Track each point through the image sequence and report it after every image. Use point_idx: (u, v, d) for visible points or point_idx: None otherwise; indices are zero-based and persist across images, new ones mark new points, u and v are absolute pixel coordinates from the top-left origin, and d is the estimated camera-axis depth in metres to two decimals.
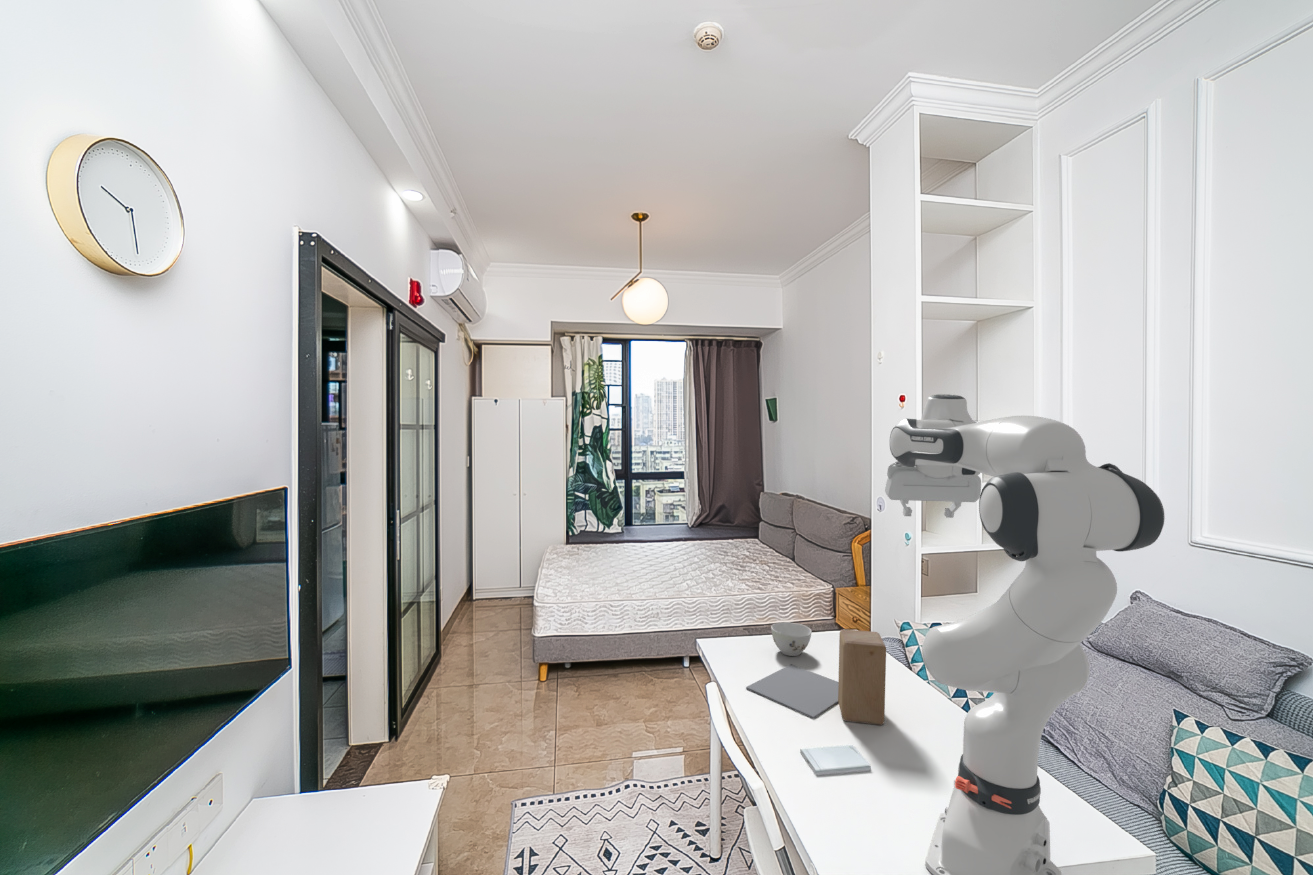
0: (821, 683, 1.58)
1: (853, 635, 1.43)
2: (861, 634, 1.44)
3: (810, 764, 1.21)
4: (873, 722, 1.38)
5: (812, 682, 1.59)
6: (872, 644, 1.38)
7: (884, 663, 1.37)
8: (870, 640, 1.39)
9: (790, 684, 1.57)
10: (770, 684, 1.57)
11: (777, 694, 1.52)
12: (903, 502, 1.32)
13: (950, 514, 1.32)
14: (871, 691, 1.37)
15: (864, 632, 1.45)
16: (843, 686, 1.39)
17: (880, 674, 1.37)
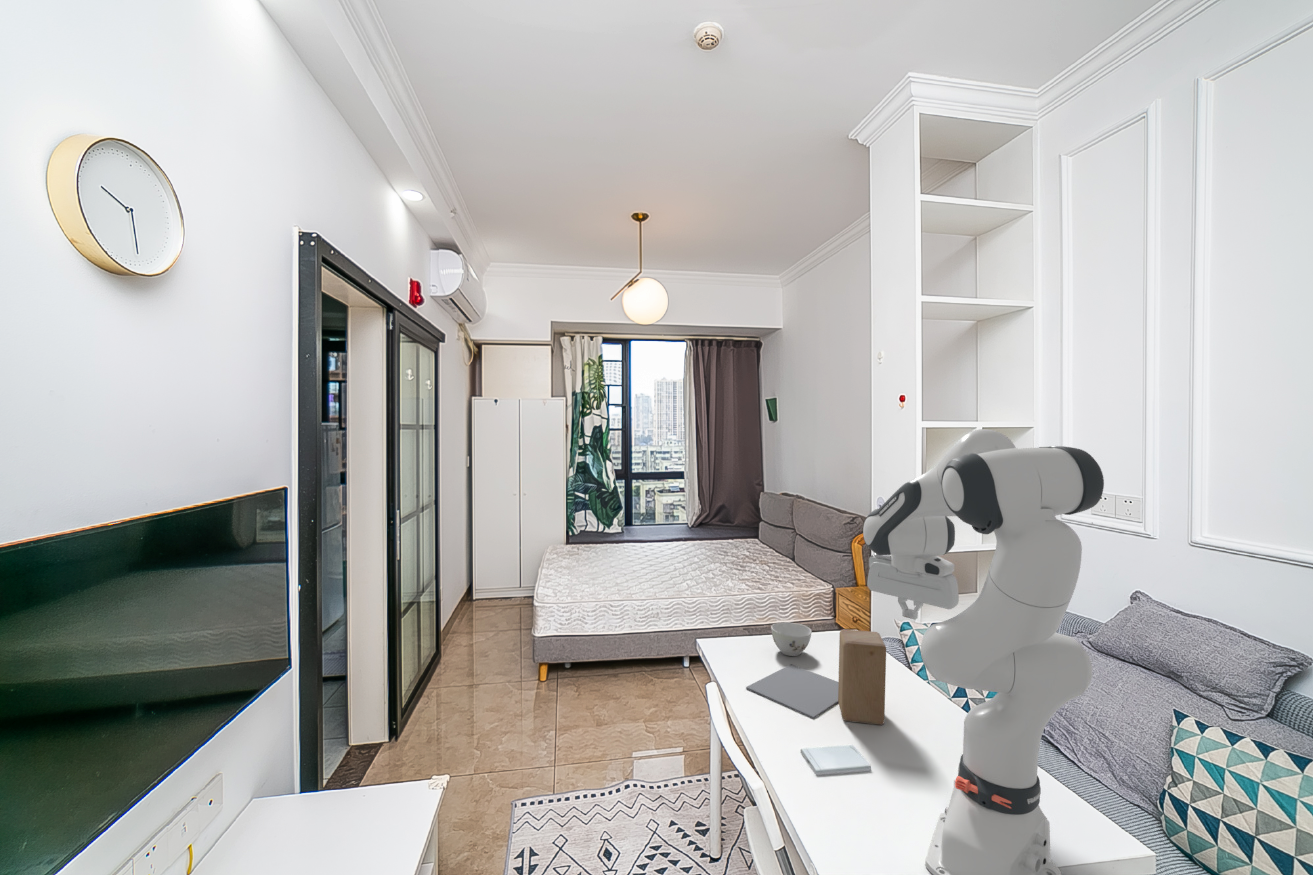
0: (821, 683, 1.58)
1: (853, 635, 1.43)
2: (861, 634, 1.44)
3: (810, 764, 1.21)
4: (873, 722, 1.38)
5: (812, 682, 1.59)
6: (873, 644, 1.38)
7: (884, 663, 1.37)
8: (870, 640, 1.39)
9: (790, 684, 1.57)
10: (770, 684, 1.57)
11: (777, 694, 1.52)
12: (899, 600, 1.34)
13: (911, 614, 1.32)
14: (871, 692, 1.37)
15: (864, 632, 1.45)
16: (843, 686, 1.39)
17: (880, 674, 1.37)
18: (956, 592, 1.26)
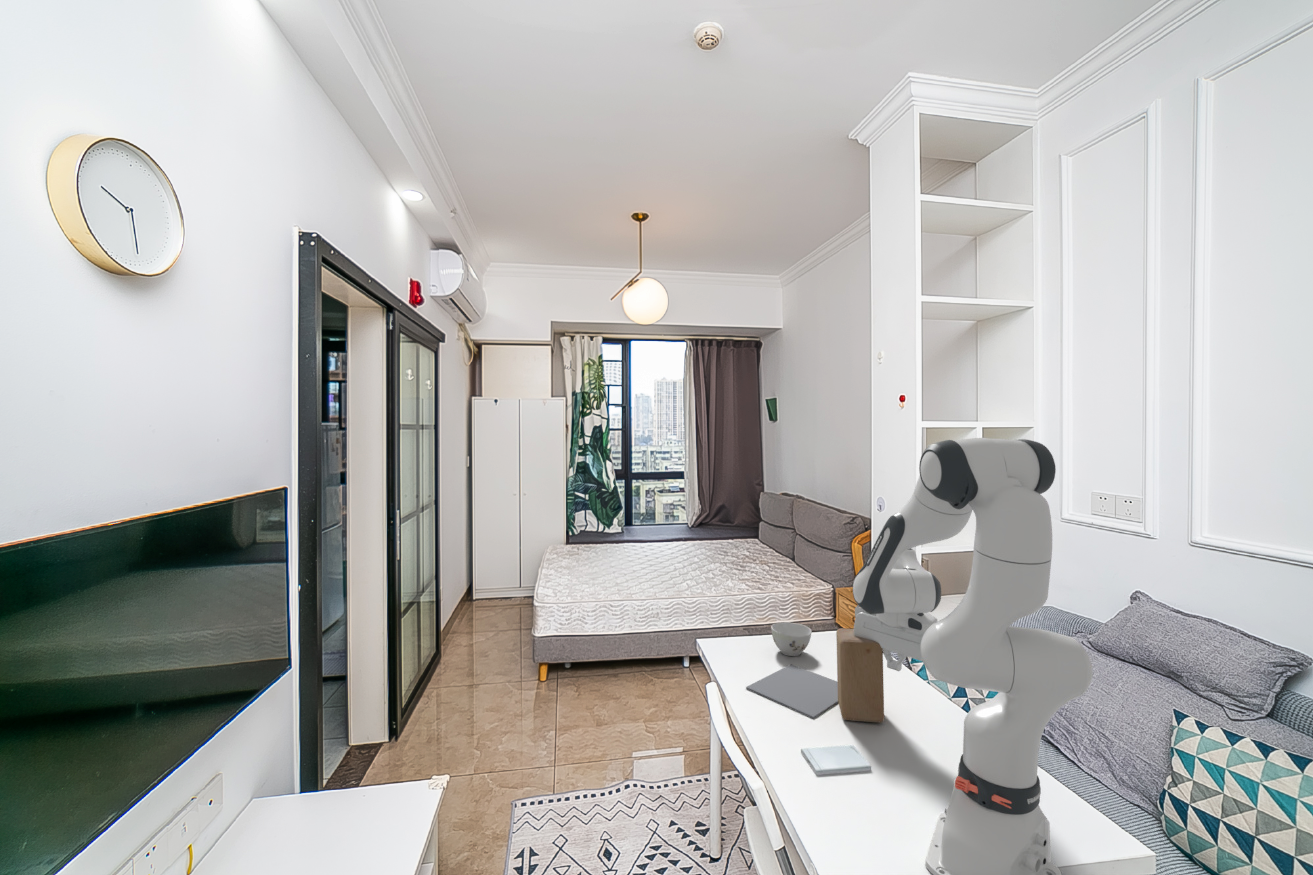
0: (821, 683, 1.58)
1: (849, 633, 1.43)
2: None
3: (810, 764, 1.21)
4: (873, 720, 1.38)
5: (812, 682, 1.59)
6: (869, 642, 1.38)
7: (881, 660, 1.37)
8: None
9: (790, 684, 1.57)
10: (770, 684, 1.57)
11: (777, 694, 1.52)
12: (883, 651, 1.37)
13: (895, 666, 1.36)
14: (869, 689, 1.38)
15: None
16: (841, 685, 1.40)
17: (877, 671, 1.37)
18: None
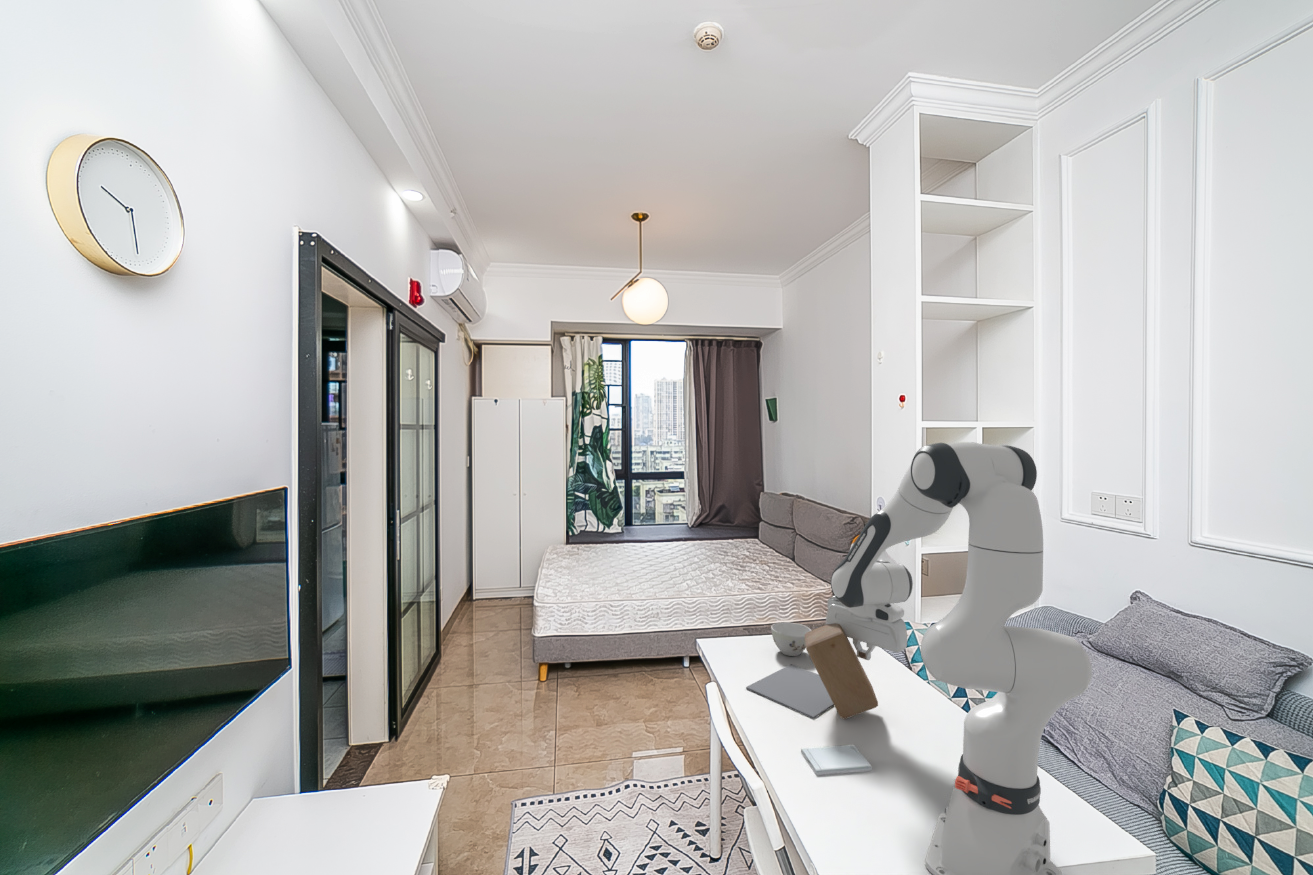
0: (821, 683, 1.58)
1: (814, 635, 1.45)
2: (821, 630, 1.46)
3: (810, 764, 1.21)
4: (868, 708, 1.38)
5: (812, 682, 1.59)
6: (830, 637, 1.40)
7: (849, 649, 1.39)
8: (828, 634, 1.41)
9: (790, 684, 1.57)
10: (770, 684, 1.57)
11: (777, 694, 1.52)
12: (853, 641, 1.43)
13: (864, 655, 1.41)
14: (851, 681, 1.38)
15: (824, 627, 1.47)
16: (826, 688, 1.40)
17: (850, 661, 1.38)
18: (904, 636, 1.35)
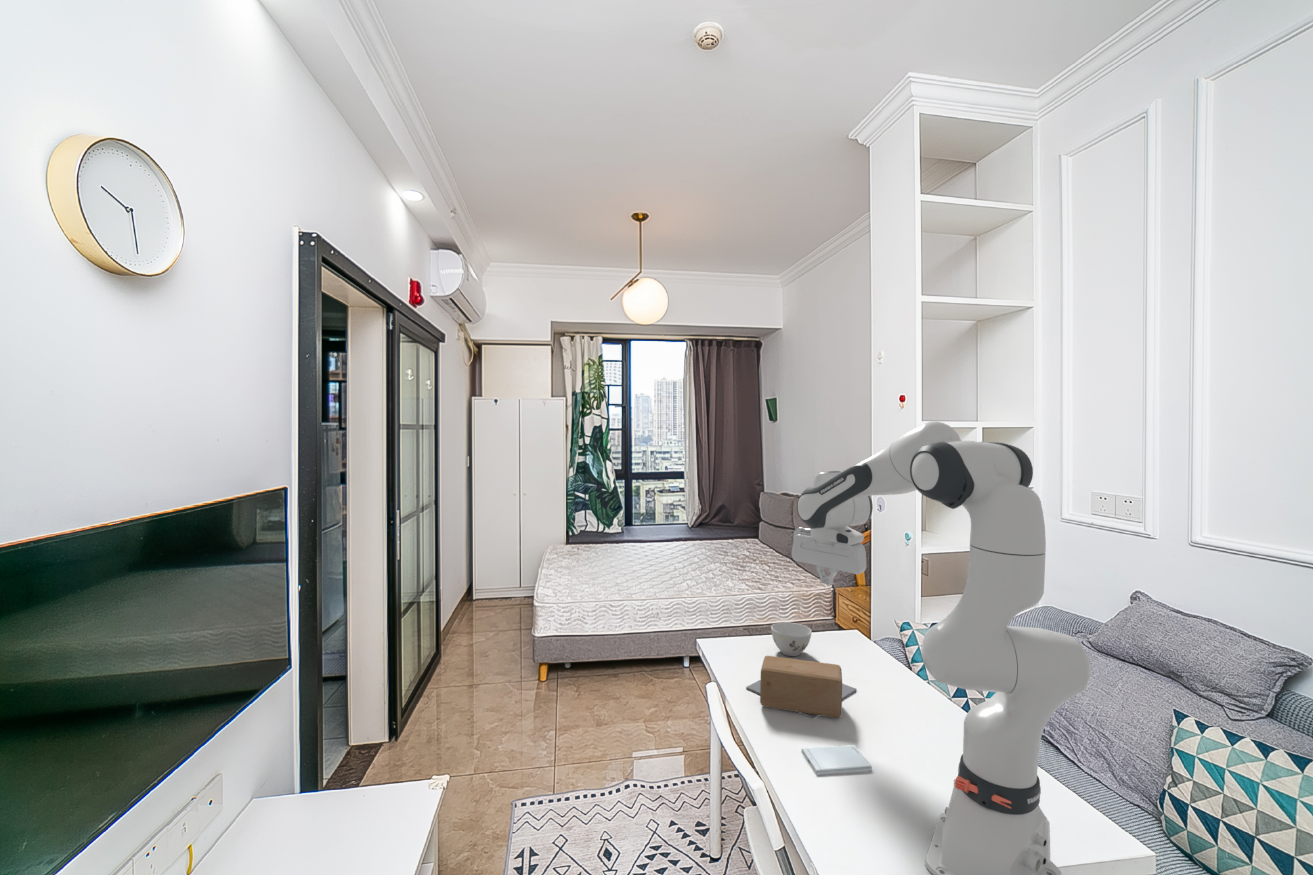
0: None
1: None
2: None
3: (811, 764, 1.21)
4: (839, 690, 1.39)
5: None
6: (761, 680, 1.45)
7: (778, 672, 1.43)
8: None
9: None
10: None
11: None
12: (817, 568, 1.50)
13: (827, 580, 1.48)
14: (807, 688, 1.41)
15: None
16: (805, 712, 1.42)
17: (788, 678, 1.42)
18: (863, 559, 1.42)
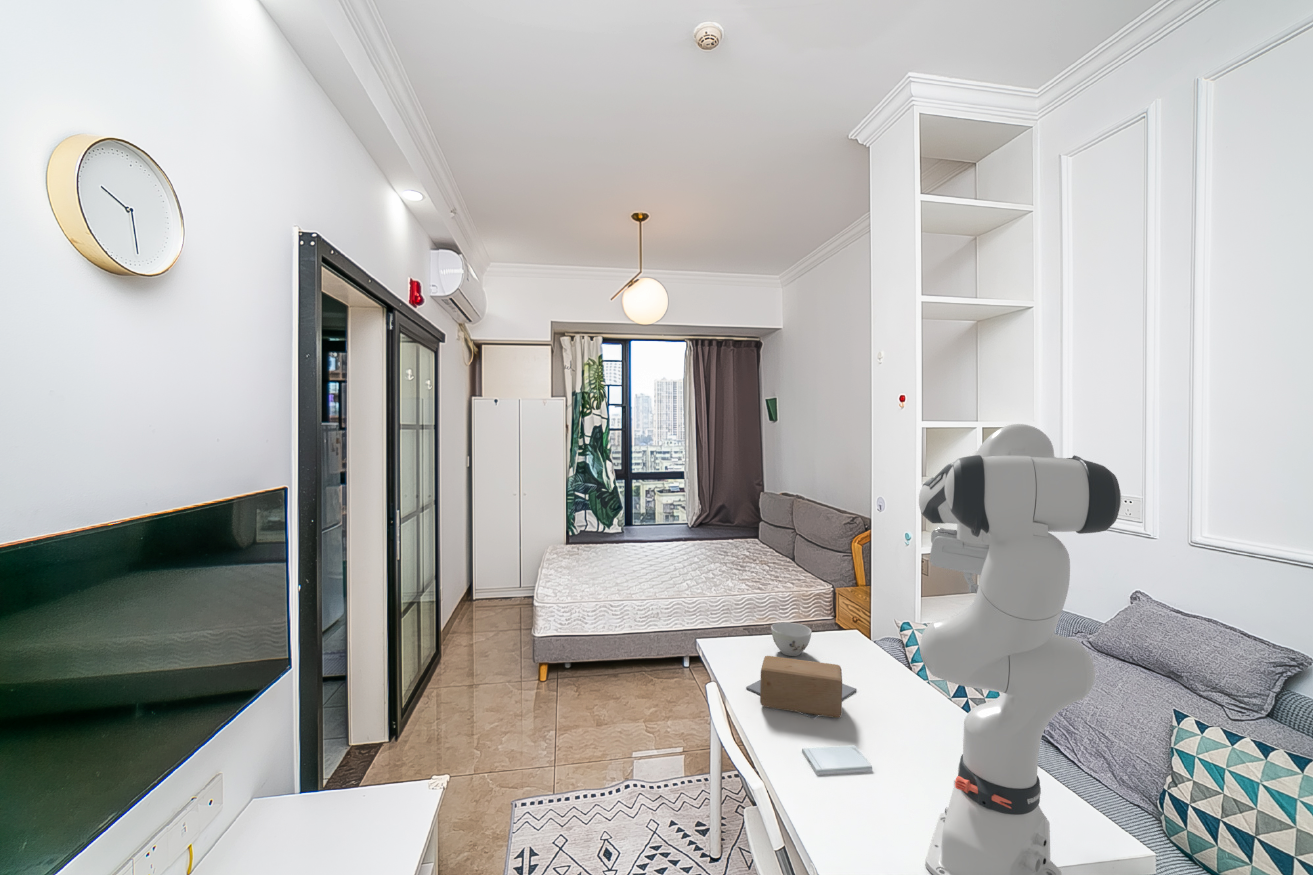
0: None
1: None
2: None
3: (811, 764, 1.21)
4: (839, 690, 1.39)
5: None
6: (761, 680, 1.45)
7: (778, 672, 1.43)
8: None
9: None
10: None
11: None
12: (965, 575, 1.30)
13: None
14: (807, 688, 1.41)
15: None
16: (805, 712, 1.42)
17: (788, 678, 1.42)
18: None
